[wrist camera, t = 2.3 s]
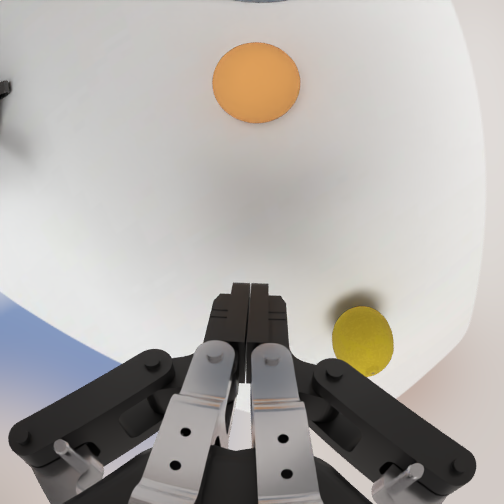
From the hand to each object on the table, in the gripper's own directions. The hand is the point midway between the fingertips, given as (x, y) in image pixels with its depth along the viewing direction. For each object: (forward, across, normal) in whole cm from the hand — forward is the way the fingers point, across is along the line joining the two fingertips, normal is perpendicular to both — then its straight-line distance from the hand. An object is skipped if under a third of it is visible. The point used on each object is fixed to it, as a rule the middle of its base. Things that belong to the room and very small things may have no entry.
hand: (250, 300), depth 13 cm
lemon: (+12, -10, +10) cm, 19 cm away
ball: (+9, 0, -10) cm, 13 cm away
